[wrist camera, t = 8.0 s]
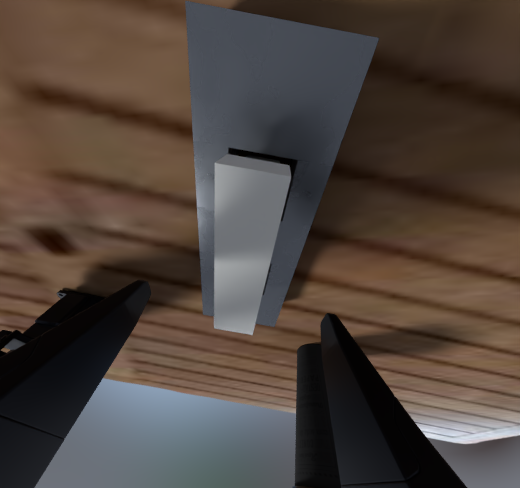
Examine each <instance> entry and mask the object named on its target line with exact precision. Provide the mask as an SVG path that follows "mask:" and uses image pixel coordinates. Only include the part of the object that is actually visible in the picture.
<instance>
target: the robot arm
mask: <svg viewBox="0 0 520 488" xmlns="http://www.w3.org/2000/svg"><path fill="white" fill-rule="evenodd" d="M57 295H58V296H59V297H60V300H59V301H58V302H57V303H55V304H54V305H53V306H52V307H51V308H49V309H48V310H47V311H46V312H45V313H43V314H42V315H41V316H40V317H39V318H37V319H36V320H35V322H36V323H35V324H33V325H32V326H31V327H30V328H29V329H27V330H26V331H25V332H24V333H23V334H22V333H21V332H20V331H18V330H15V331H13V332H11V331H6V330H2V331H1V332H0V350H1V349H2V348H3V347H5V348H7V349H10V351H9V352H7V353H6V352H3V351H0V488H34V487H35V486H36V484H37V482H38V481H39V479H40V478H41V476H42V475H43V473H44V471H45V470H46V468H47V467H48V465H49V463H50V462H51V460H52V459H53V457H54V455H55V454H56V452H57V451H58V449H59V447H60V446H61V444H62V443H63V441H64V438H65V437H66V436H67V434H68V433H69V431H70V429H71V428H72V426H73V425H74V423H75V422H76V420H77V418H78V417H79V415H80V414H81V412H82V410H83V409H84V407H85V406H86V404H87V402H88V401H89V399H90V398H91V396H92V394H93V393H94V391H95V390H96V388H97V386H98V385H99V383H100V382H101V380H102V378H103V377H104V375H105V374H106V372H107V371H108V369H109V367H110V366H111V364H112V363H113V361H114V359H115V358H116V356H117V355H118V353H119V351H120V350H121V348H122V347H123V345H124V343H125V342H126V340H127V339H128V337H129V335H130V334H131V332H132V331H133V329H134V327H135V326H136V324H137V322H138V320H139V318H140V316H141V314H142V312H143V310H144V308H145V306H146V304H147V302H148V300H149V298H150V295H151V290H150V287H149V284H148V282H147V281H144V280H137V281H135V282H133V283H132V284H130V285H128V286H126V287H125V288H123V289H121V290H119V291H118V292H116V293H114V294H112V295H110V296H109V297H107V298H103V297H98V296H92V295H86V294H80V293H75V292H69V291H63V290H60V291H59V292H57ZM321 346H322V361H323V368H324V375H325V381H326V388H327V395H328V401H329V408H330V415H331V421H332V428H333V435H334V441H335V448H336V455H337V461H338V468H339V475H340V481H341V488H467V487H466V486H465V484H464V483H463V482H462V481H461V480H460V478H459V477H458V476H457V474H456V473H455V472H454V471H453V470H452V468H451V467H450V466H449V465H448V463H447V462H446V461H445V460H444V459H443V458H442V456H441V455H440V454H439V452H438V451H437V450H436V449H435V448H434V446H433V445H432V444H431V443H430V441H429V440H428V439H427V438H426V436H425V435H424V434H423V433H422V431H421V430H420V429H419V427H418V426H417V425H416V424H415V422H414V421H413V420H412V418H411V417H410V416H409V414H408V413H407V412H406V410H405V409H404V408H403V406H402V405H401V403H400V402H399V401H398V399H397V398H396V397H394V394H393V393H392V391H391V390H390V388H389V387H388V386H387V384H386V383H385V382H384V380H383V379H382V377H381V376H380V375H379V373H378V372H377V371H376V369H375V368H374V366H373V365H372V364H371V362H370V361H369V360H368V358H367V357H366V355H365V354H364V353H363V351H362V350H361V348H360V347H359V346H358V344H357V343H356V342H355V340H354V339H353V337H352V336H351V335H350V333H349V332H348V331H347V329H346V328H345V326H344V325H343V324H342V322H341V321H340V320H339V318H338V317H337V316H336V315H335V314H331V313H327V314H326V315H325V317H324V318H323V320H322V322H321Z"/></svg>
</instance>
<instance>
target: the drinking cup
mask: <svg viewBox="0 0 520 488" xmlns="http://www.w3.org/2000/svg"><path fill="white" fill-rule="evenodd" d="M295 458H296V459H295V486H293V487H292V488H341V481H340V475H339V468H338V461H337V455H336V448H335V441H334V435H333V428H332V421H331V415H330V408H329V401H328V395H327V388H326V381H325V375H324V368H323V361H322V346H321V345H318V344H307V345H303V346H301V347H300V348H299V349H298V351H297V399H296V454H295Z"/></svg>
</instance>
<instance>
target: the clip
mask: <svg viewBox="0 0 520 488" xmlns="http://www.w3.org/2000/svg"><path fill="white" fill-rule="evenodd" d="M290 180H291V172H290V166H289V165H285V164H280V161H278V160H273V159H268V158H262V157H257V156H251V155H247V156H246V157H241V156H236V155H230V154H226V155H225V156H224V157H222V158H221V159H219V160H218V161H217V162H215V218H214V328H215V329H221V330H227V331H233V332H238V333H244V334H250V335H253V331H254V327H255V323H256V319H257V315H258V310H259V306H260V302H261V298H262V294H263V290H264V286H265V282H266V278H267V274H268V270H269V266H270V262H271V258H272V253H273V249H274V245H275V241H276V237H277V233H278V229H279V225H280V221H281V217H282V213H283V209H284V205H285V201H286V196H287V192H288V188H289V184H290Z"/></svg>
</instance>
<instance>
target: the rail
mask: <svg viewBox="0 0 520 488" xmlns="http://www.w3.org/2000/svg"><path fill="white" fill-rule="evenodd" d="M185 3H186V20H187V38H188V55H189V73H190V91H191V108H192V126H193V143H194V161H195V179H196V196H197V214H198V231H199V249H200V267H201V284H202V302H203V315H209V316H214V218H215V162H217V161H218V160H219V159H221V158H222V157H224V156H225V155H226V154H230V155H236V156H237V155H238V149H241V150H246V151H251V152H257V153H262V154H268V155H273V156H279V157H284V158H290V159H293V161H292V165H291V170H290V172H291V180H290V184H289V188H288V192H287V196H286V201H285V205H284V209H283V213H282V217H281V221H280V225H279V229H278V233H277V237H276V241H275V245H274V249H273V253H272V258H271V262H270V266H269V270H268V274H267V278H266V282H265V286H264V290H263V294H262V298H261V302H260V306H259V310H258V315H257V319H256V323H255V324H261V325H267V326H273V327H275V324H276V321H277V318H278V316H279V313H280V310H281V307H282V304H283V302H284V299H285V296H286V293H287V291H288V288H289V285H290V282H291V280H292V277H293V274H294V271H295V269H296V266H297V263H298V260H299V258H300V255H301V252H302V249H303V247H304V244H305V241H306V238H307V236H308V233H309V230H310V227H311V225H312V222H313V219H314V216H315V214H316V211H317V208H318V205H319V203H320V200H321V197H322V194H323V192H324V189H325V186H326V183H327V181H328V178H329V175H330V172H331V170H332V167H333V164H334V161H335V159H336V156H337V153H338V150H339V148H340V145H341V142H342V139H343V137H344V134H345V131H346V128H347V126H348V123H349V120H350V117H351V115H352V112H353V109H354V106H355V104H356V101H357V98H358V95H359V93H360V90H361V87H362V84H363V82H364V79H365V76H366V73H367V71H368V68H369V65H370V62H371V60H372V57H373V54H374V51H375V49H376V46H377V43H378V40H379V38H377V37H372V36H366V35H361V34H356V33H351V32H346V31H340V30H335V29H330V28H325V27H319V26H314V25H309V24H304V23H299V22H293V21H288V20H283V19H278V18H272V17H267V16H262V15H257V14H252V13H246V12H241V11H236V10H231V9H225V8H220V7H215V6H210V5H205V4H199V3H194V2H189V1H185Z"/></svg>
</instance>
